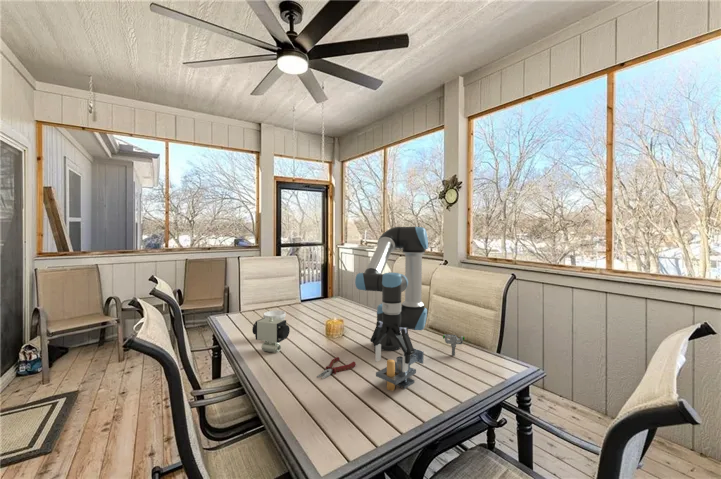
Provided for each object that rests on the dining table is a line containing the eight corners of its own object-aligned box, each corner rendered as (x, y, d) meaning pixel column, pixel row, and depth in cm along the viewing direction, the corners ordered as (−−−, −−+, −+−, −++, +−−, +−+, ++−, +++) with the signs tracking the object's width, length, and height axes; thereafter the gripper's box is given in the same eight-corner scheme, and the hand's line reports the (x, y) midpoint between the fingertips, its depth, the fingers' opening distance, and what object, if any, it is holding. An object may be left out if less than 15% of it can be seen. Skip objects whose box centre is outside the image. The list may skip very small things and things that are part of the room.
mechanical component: (464, 357, 154) (464, 337, 154) (443, 355, 156) (443, 335, 156) (463, 355, 157) (463, 335, 157) (442, 353, 159) (442, 334, 159)
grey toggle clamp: (375, 387, 124) (375, 362, 124) (409, 369, 141) (409, 347, 140) (395, 396, 117) (396, 370, 117) (428, 376, 134) (428, 353, 134)
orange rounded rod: (385, 388, 123) (385, 361, 123) (390, 385, 126) (390, 358, 125) (391, 391, 121) (391, 363, 121) (396, 388, 123) (396, 361, 123)
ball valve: (291, 350, 162) (291, 316, 161) (282, 356, 154) (282, 321, 153) (262, 346, 168) (262, 313, 167) (252, 351, 160) (251, 317, 159)
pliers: (308, 377, 134) (308, 371, 133) (337, 360, 150) (337, 355, 150) (329, 384, 127) (329, 378, 127) (356, 366, 144) (357, 361, 144)
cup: (258, 341, 174) (258, 314, 174) (272, 334, 186) (272, 309, 185) (276, 344, 170) (276, 317, 169) (290, 337, 181) (290, 311, 181)
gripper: (362, 308, 128) (361, 359, 129) (412, 320, 111) (412, 379, 112) (374, 305, 134) (373, 354, 134) (424, 316, 116) (423, 372, 117)
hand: (391, 365), depth 123 cm, fingers open, 13 cm apart
